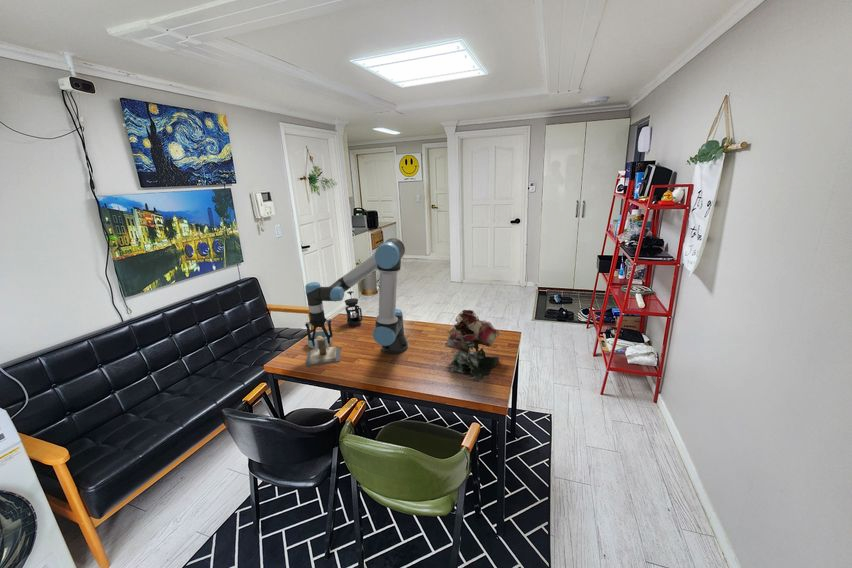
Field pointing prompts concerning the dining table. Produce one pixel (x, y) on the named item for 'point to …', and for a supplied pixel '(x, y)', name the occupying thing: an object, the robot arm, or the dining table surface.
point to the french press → (355, 317)
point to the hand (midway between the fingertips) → (322, 349)
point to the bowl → (318, 338)
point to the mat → (323, 362)
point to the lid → (322, 353)
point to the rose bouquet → (471, 344)
